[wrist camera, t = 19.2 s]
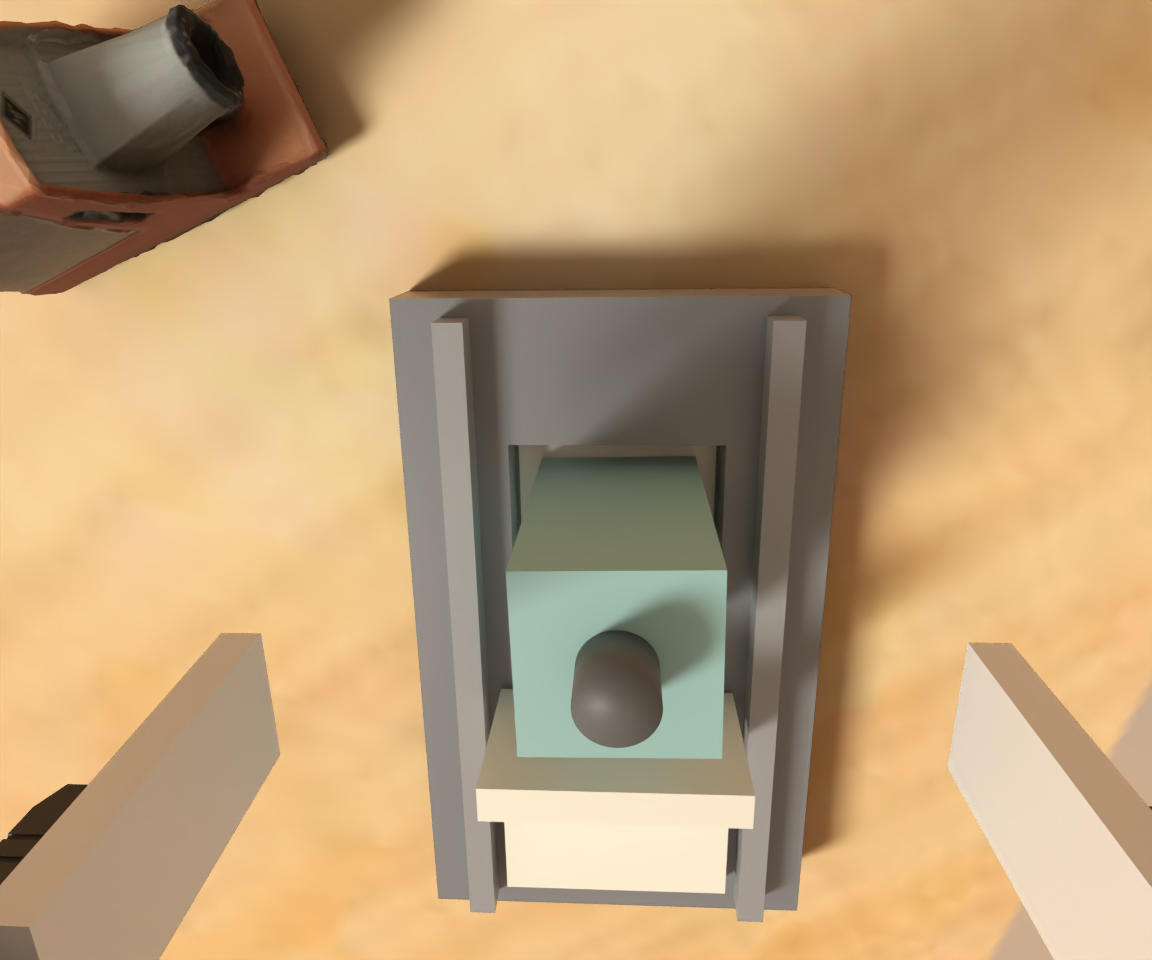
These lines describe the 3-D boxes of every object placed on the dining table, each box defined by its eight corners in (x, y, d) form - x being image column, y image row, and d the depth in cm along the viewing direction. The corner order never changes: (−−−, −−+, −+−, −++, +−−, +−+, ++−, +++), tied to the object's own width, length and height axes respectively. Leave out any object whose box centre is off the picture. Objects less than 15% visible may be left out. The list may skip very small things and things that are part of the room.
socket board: (407, 291, 24) (378, 303, 21) (833, 287, 23) (862, 299, 21) (450, 855, 30) (431, 922, 27) (786, 865, 30) (803, 935, 27)
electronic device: (346, 157, 23) (217, 137, 16) (65, 300, 25) (-165, 340, 18) (265, -8, 22) (86, -110, 15) (-23, 154, 24) (-307, 134, 17)
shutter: (500, 688, 26) (475, 788, 21) (732, 692, 25) (755, 796, 21) (509, 872, 28) (488, 997, 23) (722, 879, 27) (741, 1007, 23)
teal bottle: (541, 458, 25) (495, 604, 16) (695, 456, 24) (736, 603, 15) (548, 595, 26) (508, 803, 17) (693, 595, 26) (730, 805, 17)
